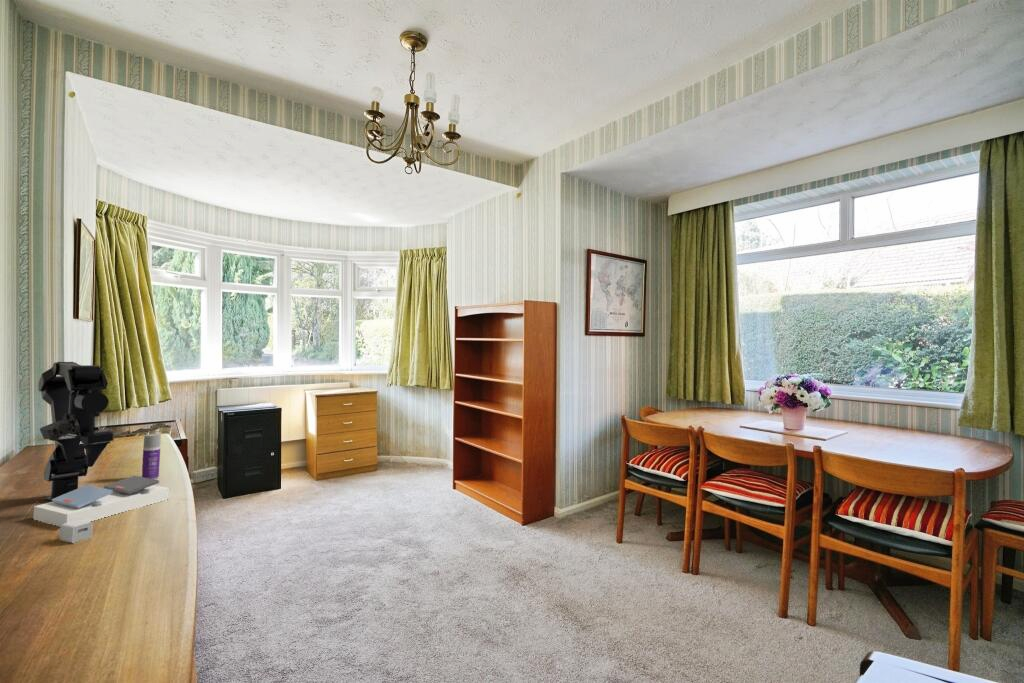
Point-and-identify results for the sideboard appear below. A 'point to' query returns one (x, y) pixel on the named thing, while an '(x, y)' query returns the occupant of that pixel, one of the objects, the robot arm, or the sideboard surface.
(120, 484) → the rocker charcoal
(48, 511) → the white long base
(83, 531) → the usb wall charger
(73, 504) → the plate
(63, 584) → the sideboard surface
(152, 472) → the container
